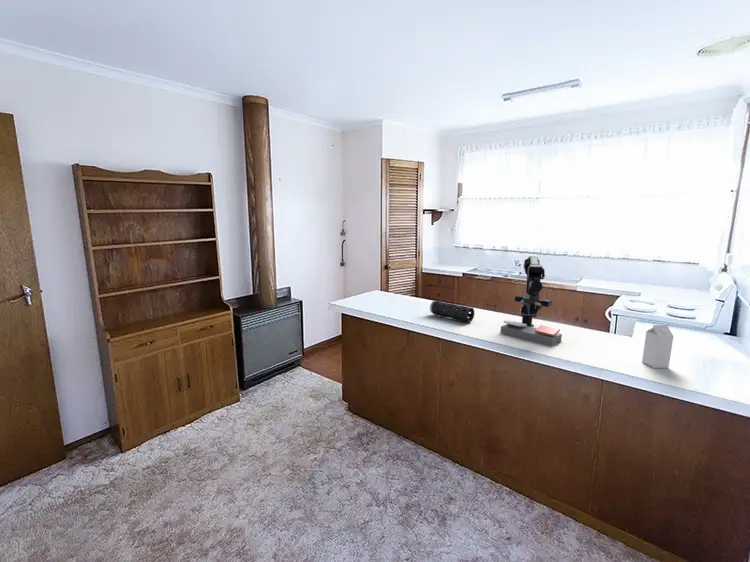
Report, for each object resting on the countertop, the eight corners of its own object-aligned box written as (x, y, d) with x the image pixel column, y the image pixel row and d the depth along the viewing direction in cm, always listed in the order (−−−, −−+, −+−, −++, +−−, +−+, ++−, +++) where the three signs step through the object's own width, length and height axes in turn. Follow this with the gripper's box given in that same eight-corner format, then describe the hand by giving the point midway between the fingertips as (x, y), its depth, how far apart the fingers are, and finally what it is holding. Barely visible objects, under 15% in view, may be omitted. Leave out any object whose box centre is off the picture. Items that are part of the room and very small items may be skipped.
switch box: (510, 329, 228) (510, 321, 228) (561, 340, 208) (561, 332, 207) (500, 333, 220) (500, 325, 219) (552, 346, 200) (553, 337, 199)
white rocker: (509, 322, 226) (510, 320, 226) (526, 326, 219) (526, 324, 219) (503, 322, 220) (503, 320, 220) (520, 326, 213) (520, 324, 213)
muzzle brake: (466, 325, 236) (467, 308, 234) (428, 316, 255) (429, 301, 253) (474, 322, 243) (475, 306, 241) (437, 313, 261) (437, 298, 260)
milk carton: (641, 362, 179) (647, 322, 176) (656, 362, 180) (661, 322, 177) (653, 368, 172) (659, 327, 169) (668, 368, 173) (675, 327, 170)
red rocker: (541, 326, 213) (541, 324, 213) (559, 331, 206) (559, 328, 206) (534, 332, 208) (534, 330, 208) (553, 336, 201) (553, 334, 200)
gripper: (510, 287, 210) (508, 315, 213) (545, 292, 197) (542, 322, 200) (520, 285, 218) (517, 311, 221) (553, 290, 205) (551, 318, 208)
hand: (531, 316), depth 212 cm, fingers open, 4 cm apart
